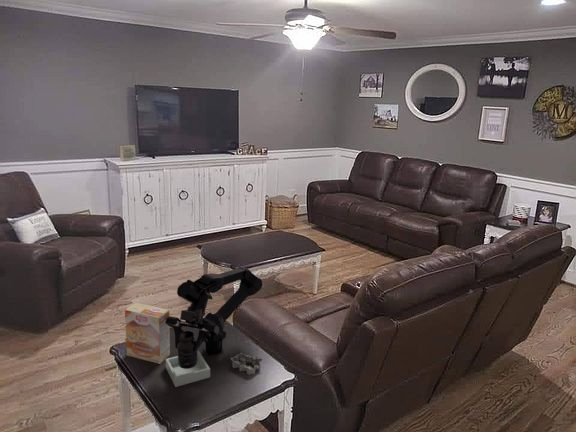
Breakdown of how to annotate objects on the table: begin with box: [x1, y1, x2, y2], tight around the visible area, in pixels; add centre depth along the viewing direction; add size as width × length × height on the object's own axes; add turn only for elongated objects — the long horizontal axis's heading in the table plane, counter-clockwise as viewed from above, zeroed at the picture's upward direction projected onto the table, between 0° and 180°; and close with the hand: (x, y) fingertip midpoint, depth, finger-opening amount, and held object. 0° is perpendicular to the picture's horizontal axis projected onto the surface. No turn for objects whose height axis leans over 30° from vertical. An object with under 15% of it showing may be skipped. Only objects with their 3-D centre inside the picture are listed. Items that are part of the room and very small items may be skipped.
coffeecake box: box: [124, 302, 171, 365], centre depth 165 cm, size 15×7×20 cm, turn 72°
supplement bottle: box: [176, 330, 198, 369], centre depth 154 cm, size 7×7×12 cm
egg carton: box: [230, 352, 263, 375], centre depth 163 cm, size 11×8×4 cm
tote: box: [165, 350, 211, 388], centre depth 158 cm, size 13×13×4 cm
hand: (185, 349), depth 153 cm, fingers closed on supplement bottle, 7 cm apart
